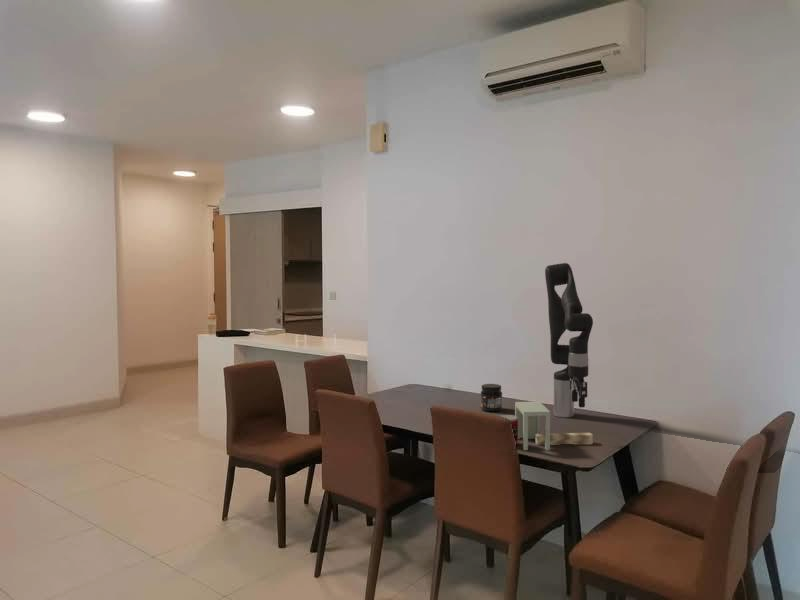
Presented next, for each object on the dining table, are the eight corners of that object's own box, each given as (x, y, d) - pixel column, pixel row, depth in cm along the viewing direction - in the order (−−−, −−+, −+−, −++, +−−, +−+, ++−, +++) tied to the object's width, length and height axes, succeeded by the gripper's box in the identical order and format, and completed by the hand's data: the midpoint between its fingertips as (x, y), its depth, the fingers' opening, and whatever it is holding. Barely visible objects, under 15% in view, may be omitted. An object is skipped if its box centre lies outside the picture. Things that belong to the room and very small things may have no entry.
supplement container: (482, 406, 290) (482, 382, 289) (503, 408, 287) (503, 384, 286) (478, 411, 280) (478, 387, 279) (500, 413, 277) (500, 388, 276)
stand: (515, 437, 238) (515, 401, 237) (539, 437, 238) (539, 401, 237) (523, 450, 222) (524, 412, 221) (549, 450, 222) (550, 411, 221)
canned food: (495, 441, 233) (495, 415, 232) (514, 440, 234) (514, 414, 233) (500, 447, 225) (500, 420, 225) (520, 446, 226) (520, 419, 225)
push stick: (537, 445, 228) (537, 435, 228) (535, 443, 231) (535, 433, 231) (592, 444, 228) (592, 434, 228) (590, 442, 231) (590, 432, 231)
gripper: (563, 360, 235) (563, 400, 236) (574, 367, 220) (574, 409, 222) (581, 360, 235) (581, 399, 236) (594, 367, 221) (593, 408, 222)
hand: (578, 404), depth 229 cm, fingers open, 8 cm apart
